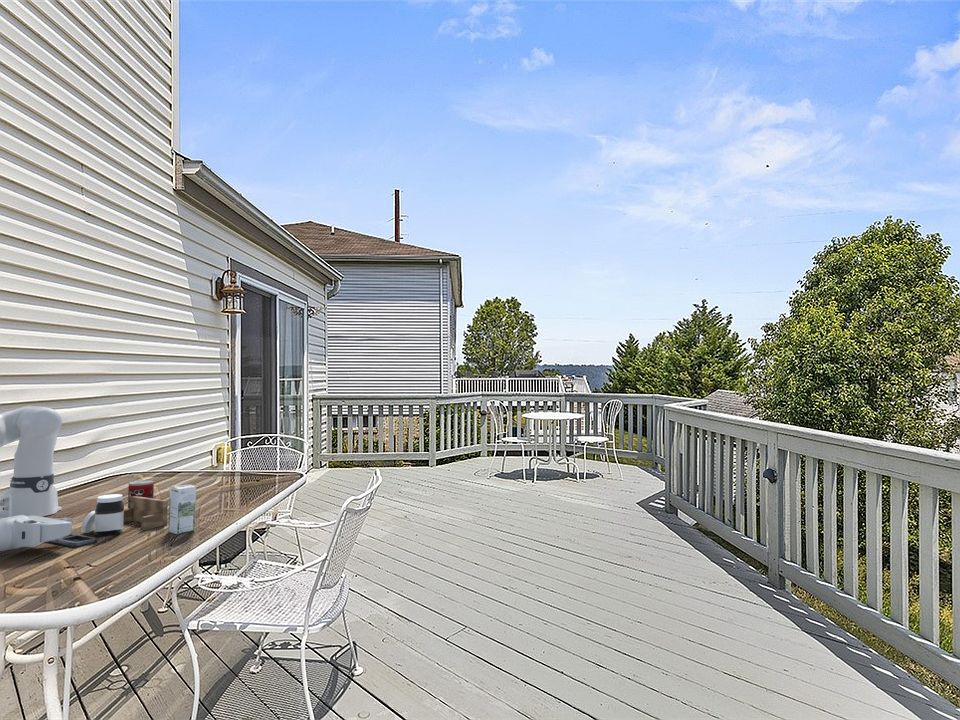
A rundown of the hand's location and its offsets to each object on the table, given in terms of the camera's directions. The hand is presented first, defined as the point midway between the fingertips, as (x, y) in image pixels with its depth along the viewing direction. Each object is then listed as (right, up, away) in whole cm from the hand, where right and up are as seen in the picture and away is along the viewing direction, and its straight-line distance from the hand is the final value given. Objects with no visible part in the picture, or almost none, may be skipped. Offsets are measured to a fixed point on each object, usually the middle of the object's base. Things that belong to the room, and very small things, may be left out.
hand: (69, 520), depth 169 cm
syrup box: (+28, -7, +11) cm, 31 cm away
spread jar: (+4, -7, +9) cm, 12 cm away
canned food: (-1, -8, +37) cm, 38 cm away
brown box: (+9, -7, +20) cm, 23 cm away
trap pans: (0, -6, -1) cm, 6 cm away
